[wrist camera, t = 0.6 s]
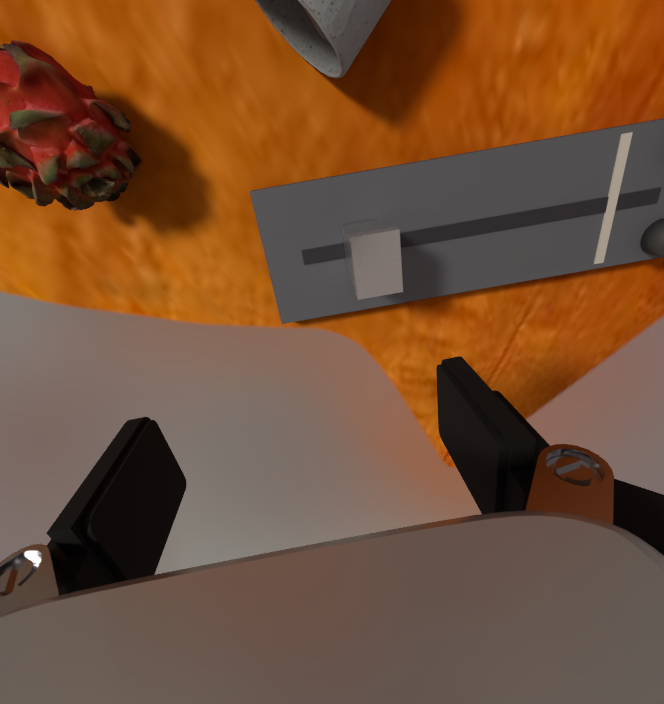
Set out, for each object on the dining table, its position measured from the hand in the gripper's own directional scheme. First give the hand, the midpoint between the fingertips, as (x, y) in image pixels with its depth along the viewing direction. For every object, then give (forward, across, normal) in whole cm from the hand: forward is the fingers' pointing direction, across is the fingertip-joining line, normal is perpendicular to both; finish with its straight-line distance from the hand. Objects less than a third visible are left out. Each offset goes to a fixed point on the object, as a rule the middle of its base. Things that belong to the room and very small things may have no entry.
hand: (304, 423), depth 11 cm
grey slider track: (+22, -15, -1) cm, 27 cm away
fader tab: (+20, -5, -1) cm, 20 cm away
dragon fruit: (+22, +14, -13) cm, 29 cm away
